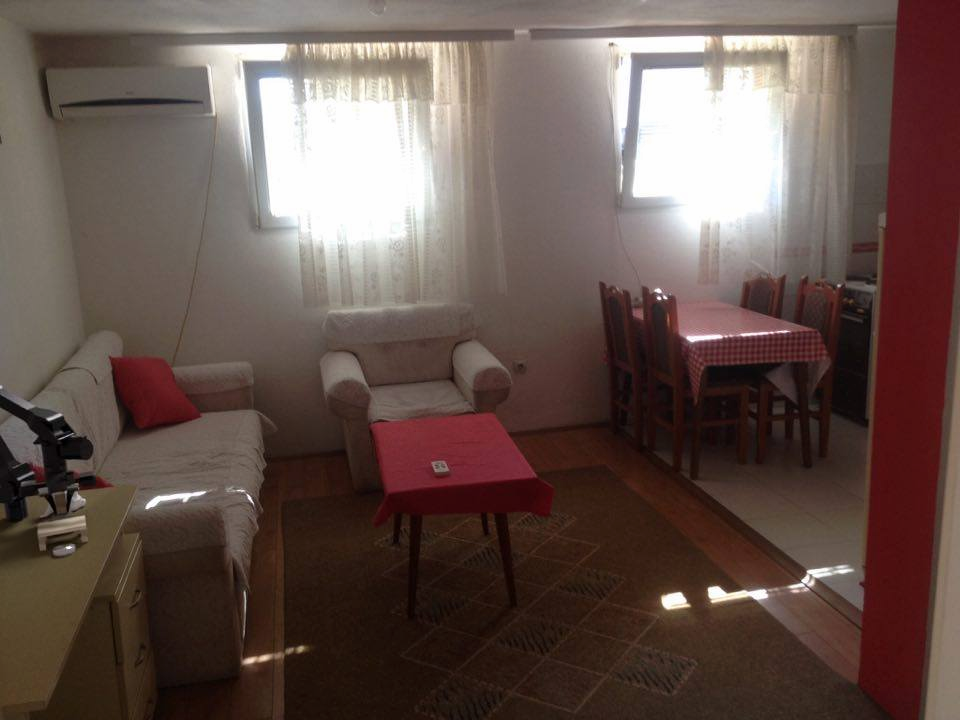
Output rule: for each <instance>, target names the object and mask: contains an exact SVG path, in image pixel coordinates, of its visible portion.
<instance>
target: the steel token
mask: <svg viewBox="0 0 960 720" xmlns="http://www.w3.org/2000/svg"><path fill="white" fill-rule="evenodd" d="M75 552H76V544H75V543H62V544H58V545H57V546H54V547H53V548H52V554H53V556H54V557H66V556H69V555H72V554H74V553H75Z"/></svg>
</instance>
